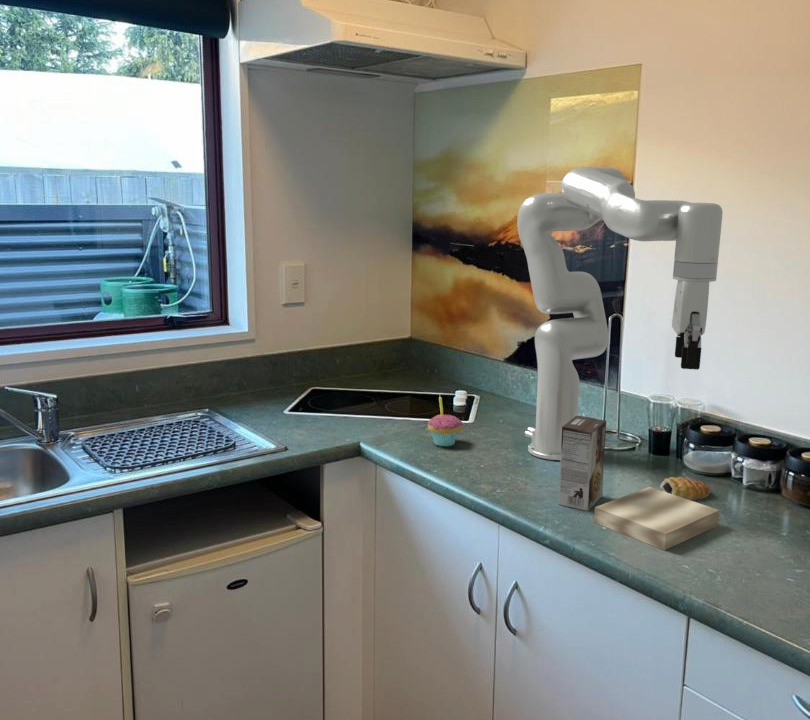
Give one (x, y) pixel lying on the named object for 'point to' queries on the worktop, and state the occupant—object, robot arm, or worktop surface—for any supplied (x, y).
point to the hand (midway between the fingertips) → (686, 362)
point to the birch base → (656, 517)
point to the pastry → (685, 488)
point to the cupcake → (444, 428)
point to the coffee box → (582, 462)
